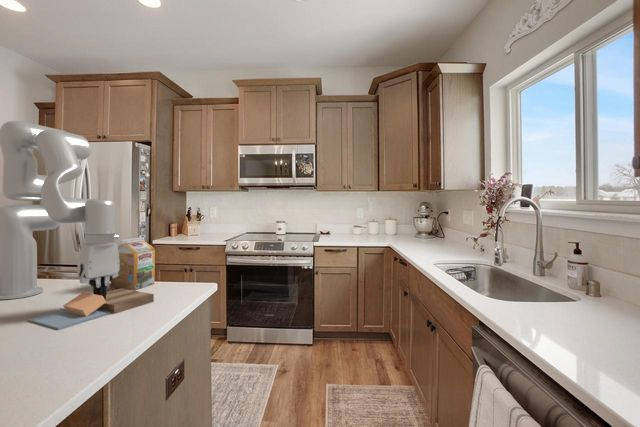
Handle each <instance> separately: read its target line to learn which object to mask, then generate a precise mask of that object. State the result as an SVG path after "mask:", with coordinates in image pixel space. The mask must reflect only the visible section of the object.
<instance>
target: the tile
mask: <svg viewBox="0 0 640 427" xmlns="http://www.w3.org/2000/svg"><path fill="white" fill-rule="evenodd" d="M104 303H106V301H105V299H104V297H103V296H101V295H96V294H93V293H90V292H84V291H83V292H82V293H80V294H79V295H77V296H75V297H74V298H72V299H70V300H69V301H68V302H66V303H65V304H63V305H62V306H63V308H64V310H66V311H67V312H70V313H74V314H78V315H82V316H86V317H87V316H88V315H89V314H91V313H92V312H93V311H95V310H96V309H98V308H99V307H100V306H102V305H103V304H104Z"/></svg>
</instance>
